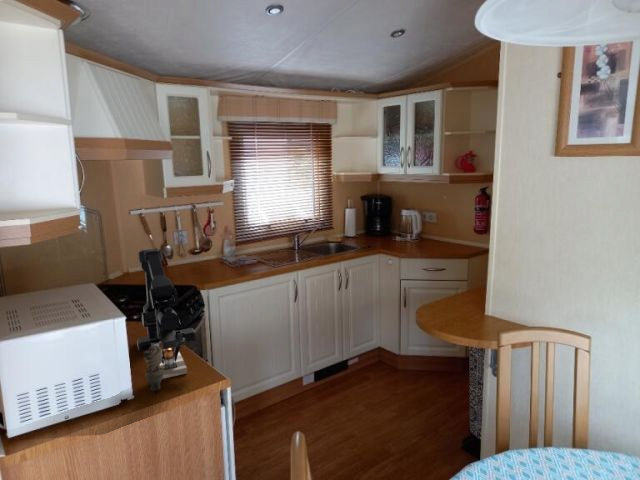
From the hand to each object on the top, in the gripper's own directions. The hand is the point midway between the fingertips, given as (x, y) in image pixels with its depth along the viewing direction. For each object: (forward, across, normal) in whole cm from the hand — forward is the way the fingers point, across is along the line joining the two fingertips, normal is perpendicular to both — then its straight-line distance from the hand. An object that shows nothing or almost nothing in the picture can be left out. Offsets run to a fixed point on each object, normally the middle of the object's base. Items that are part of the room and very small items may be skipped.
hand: (169, 362), depth 156 cm
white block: (+3, 0, +3) cm, 4 cm away
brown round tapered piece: (+2, 0, 0) cm, 2 cm away
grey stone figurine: (+4, -6, -11) cm, 13 cm away
